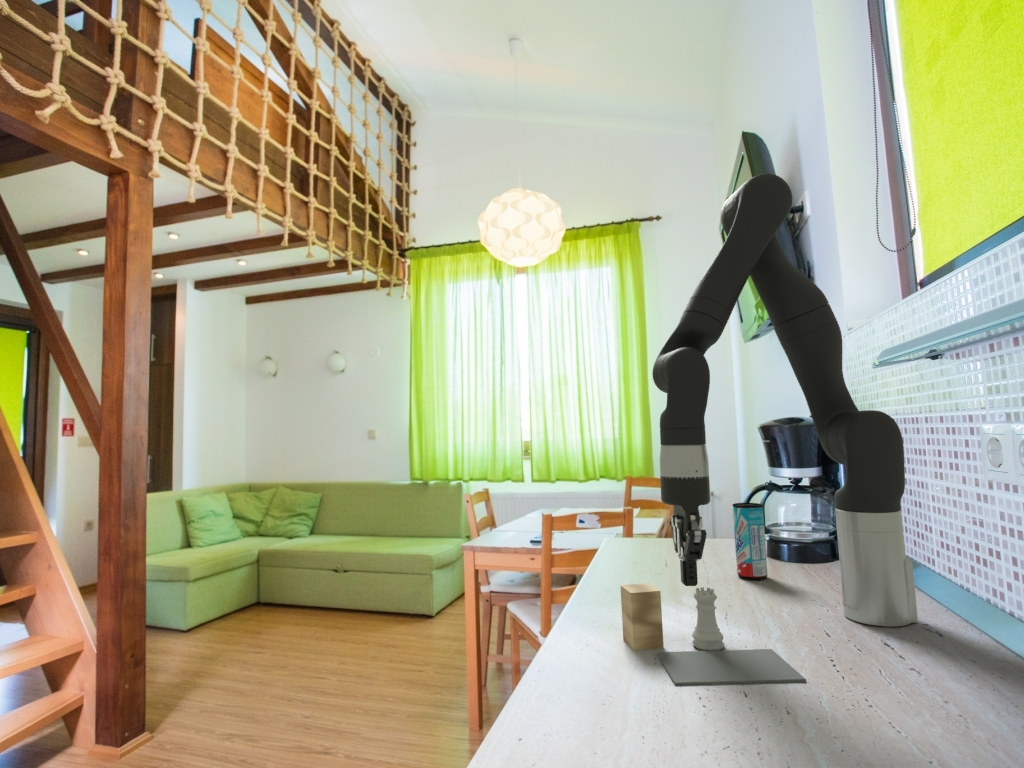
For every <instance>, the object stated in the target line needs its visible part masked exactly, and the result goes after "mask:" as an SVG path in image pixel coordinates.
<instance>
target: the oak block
mask: <svg viewBox="0 0 1024 768" xmlns="http://www.w3.org/2000/svg"><path fill="white" fill-rule="evenodd" d="M620 598H621V599H620V600H621V601H620V602H621V621H622V622H621V623H622V640H623V641H624V642H625V643H626V644H627V645H628V646H629V647H630V648H631V650H632V651H640V650H641V651H642V650H650V649H651V650H653V649H662V648H663V649H664V647H665V646H664V630H663V615H662V614H663V613H662V611H663V610H662V596H661V590H660V589H659V588H657V587H656V586H654V585H652V584H651V583H650V582H647V583H636V584H635V583H633V584H623V585H620Z"/></svg>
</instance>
